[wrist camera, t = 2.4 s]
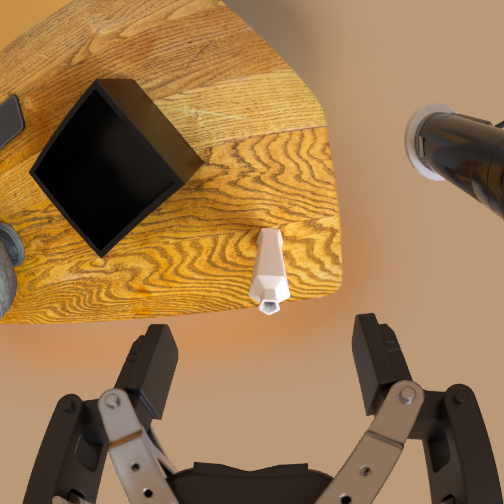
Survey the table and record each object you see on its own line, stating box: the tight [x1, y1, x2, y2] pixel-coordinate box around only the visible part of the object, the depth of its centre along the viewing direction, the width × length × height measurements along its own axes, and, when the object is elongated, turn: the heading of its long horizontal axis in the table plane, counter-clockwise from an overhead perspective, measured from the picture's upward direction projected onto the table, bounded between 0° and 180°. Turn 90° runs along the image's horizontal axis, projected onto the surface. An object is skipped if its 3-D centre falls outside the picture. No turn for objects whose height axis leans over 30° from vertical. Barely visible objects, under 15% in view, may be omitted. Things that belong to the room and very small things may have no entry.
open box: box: [29, 79, 204, 258], centre depth 34 cm, size 16×16×10 cm
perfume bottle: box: [248, 228, 290, 315], centre depth 37 cm, size 5×4×15 cm
